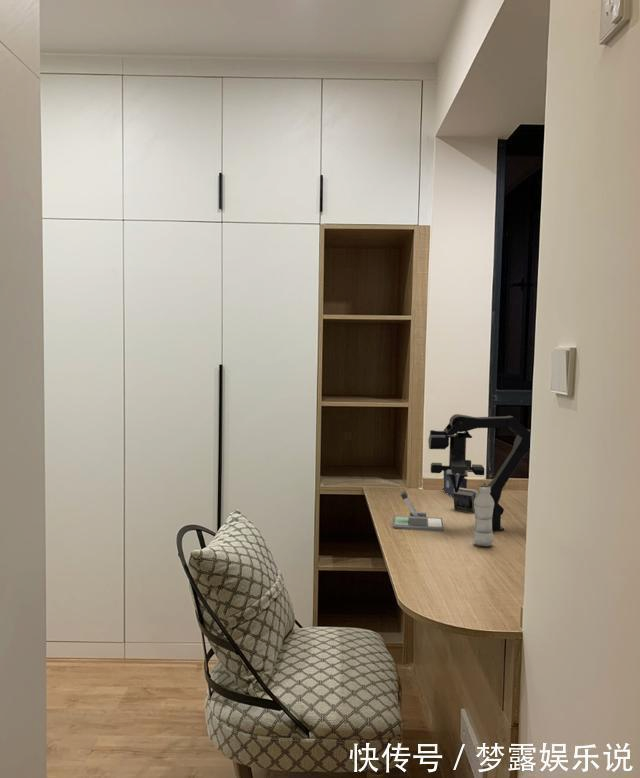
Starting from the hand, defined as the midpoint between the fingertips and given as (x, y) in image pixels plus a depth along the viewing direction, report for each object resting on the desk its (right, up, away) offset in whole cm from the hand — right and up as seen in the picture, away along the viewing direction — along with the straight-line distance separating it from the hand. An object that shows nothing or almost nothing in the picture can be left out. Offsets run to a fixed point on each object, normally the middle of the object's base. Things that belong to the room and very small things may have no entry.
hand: (456, 492), depth 225 cm
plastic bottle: (+5, -15, -18) cm, 24 cm away
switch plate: (-13, -13, +5) cm, 19 cm away
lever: (-13, -11, +4) cm, 17 cm away
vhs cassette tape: (+9, -10, +46) cm, 48 cm away
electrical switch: (+9, -12, +23) cm, 27 cm away
